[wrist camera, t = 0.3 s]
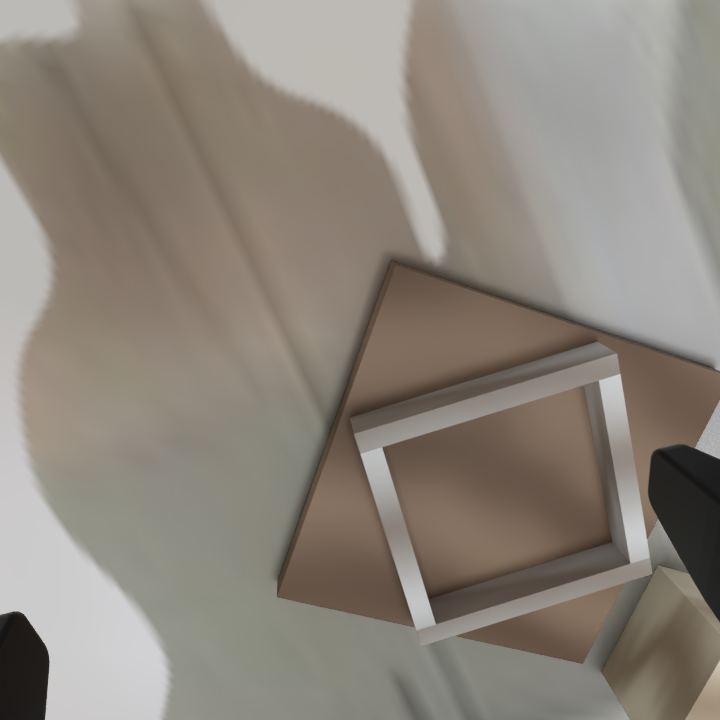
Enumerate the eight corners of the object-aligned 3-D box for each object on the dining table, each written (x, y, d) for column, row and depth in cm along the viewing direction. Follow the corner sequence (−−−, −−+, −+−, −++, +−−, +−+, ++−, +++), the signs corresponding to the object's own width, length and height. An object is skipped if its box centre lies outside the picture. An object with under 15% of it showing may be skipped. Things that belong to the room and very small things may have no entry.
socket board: (573, 647, 29) (598, 690, 27) (277, 581, 27) (276, 623, 24) (715, 369, 26) (758, 390, 23) (391, 260, 23) (402, 272, 21)
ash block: (707, 693, 31) (781, 788, 27) (600, 670, 30) (658, 765, 25) (766, 592, 30) (857, 674, 25) (656, 563, 29) (728, 644, 24)
